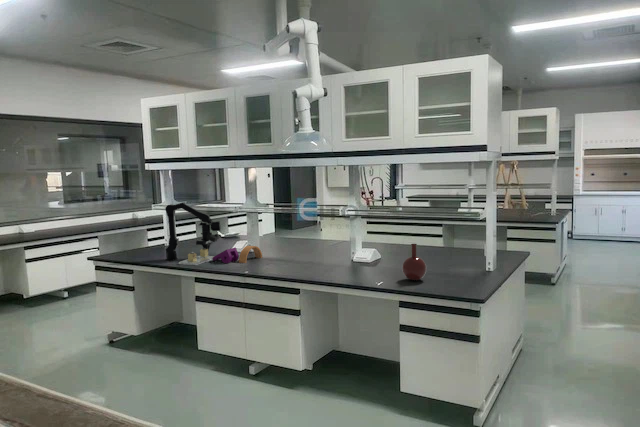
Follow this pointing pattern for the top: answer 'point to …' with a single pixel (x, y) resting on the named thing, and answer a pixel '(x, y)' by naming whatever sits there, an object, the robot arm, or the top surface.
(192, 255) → the fixed leg
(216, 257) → the mounting bracket
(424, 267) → the round-bottom flask
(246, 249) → the arch
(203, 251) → the sliding leg
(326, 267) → the top surface
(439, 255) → the top surface
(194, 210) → the robot arm
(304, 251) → the top surface
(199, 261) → the pitch plate
